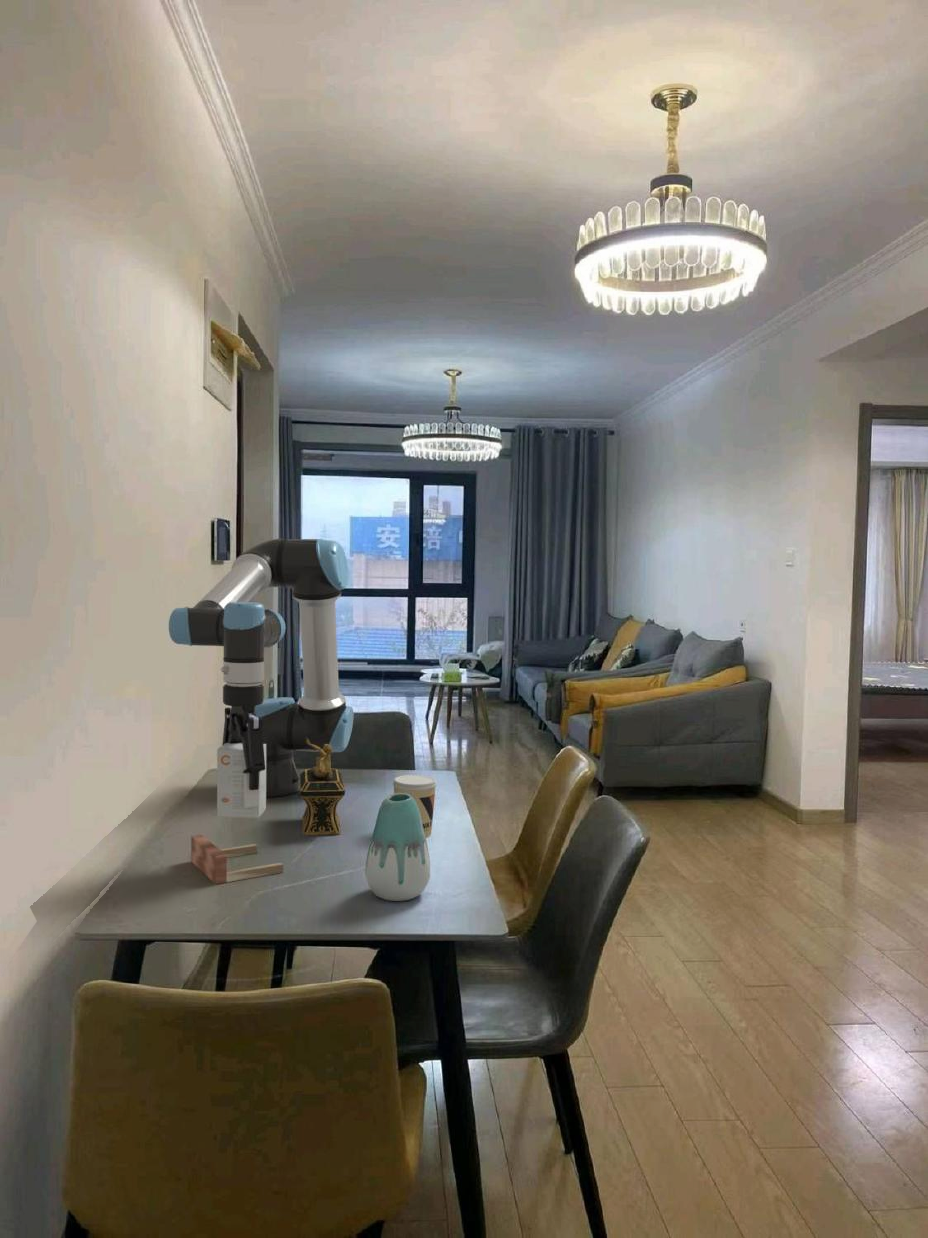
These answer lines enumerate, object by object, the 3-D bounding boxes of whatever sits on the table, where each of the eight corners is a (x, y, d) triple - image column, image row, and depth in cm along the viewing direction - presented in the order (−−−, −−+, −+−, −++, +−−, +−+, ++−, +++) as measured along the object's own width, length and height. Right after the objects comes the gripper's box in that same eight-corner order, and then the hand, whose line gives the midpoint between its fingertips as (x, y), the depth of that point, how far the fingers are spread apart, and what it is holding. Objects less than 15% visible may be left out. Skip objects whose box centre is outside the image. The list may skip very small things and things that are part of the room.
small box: (266, 809, 181) (267, 743, 180) (259, 818, 175) (260, 750, 174) (224, 808, 181) (225, 742, 180) (216, 817, 175) (216, 748, 174)
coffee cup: (429, 842, 197) (430, 786, 196) (386, 838, 199) (387, 782, 198) (439, 829, 206) (440, 776, 205) (398, 826, 208) (399, 773, 207)
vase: (376, 910, 158) (378, 807, 157) (356, 887, 169) (358, 790, 167) (439, 902, 163) (442, 801, 162) (416, 880, 173) (418, 785, 172)
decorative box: (298, 816, 213) (299, 731, 212) (340, 815, 215) (341, 731, 214) (298, 843, 193) (299, 750, 192) (345, 842, 195) (346, 749, 194)
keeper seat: (191, 861, 180) (191, 836, 180) (255, 851, 188) (255, 826, 187) (215, 884, 169) (216, 857, 168) (283, 872, 176) (283, 846, 175)
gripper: (205, 677, 183) (204, 789, 185) (245, 692, 165) (243, 816, 166) (241, 675, 188) (240, 785, 189) (284, 690, 169) (283, 811, 171)
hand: (242, 800), depth 178 cm, fingers closed on small box, 9 cm apart
